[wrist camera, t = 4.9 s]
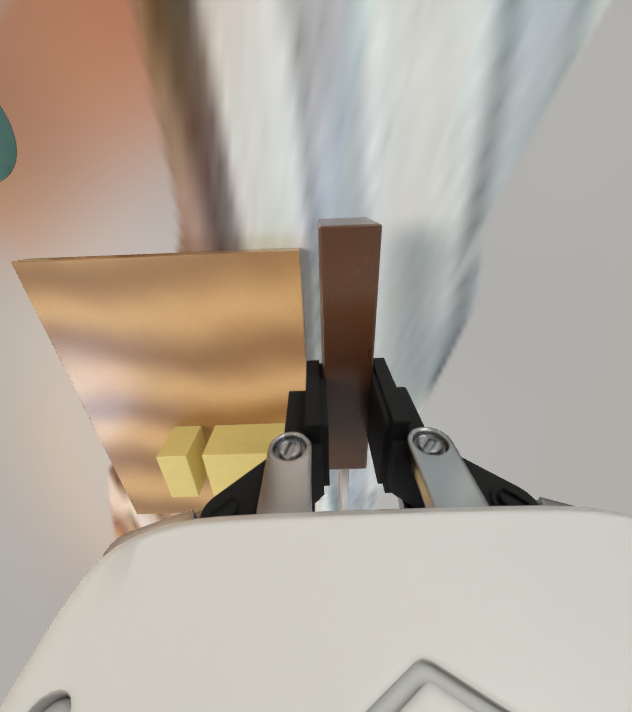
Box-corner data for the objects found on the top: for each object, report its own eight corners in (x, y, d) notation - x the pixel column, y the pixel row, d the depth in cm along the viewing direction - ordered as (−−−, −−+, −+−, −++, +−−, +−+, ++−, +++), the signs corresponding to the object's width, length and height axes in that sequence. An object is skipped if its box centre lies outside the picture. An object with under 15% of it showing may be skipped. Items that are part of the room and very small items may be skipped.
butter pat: (174, 426, 22) (155, 457, 19) (201, 425, 22) (185, 456, 19) (187, 464, 24) (171, 497, 21) (212, 463, 24) (199, 496, 21)
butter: (214, 424, 22) (201, 455, 19) (295, 422, 22) (293, 452, 19) (224, 463, 24) (213, 496, 21) (299, 461, 24) (297, 493, 21)
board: (26, 258, 17) (10, 261, 16) (299, 247, 17) (299, 250, 16) (142, 504, 27) (137, 514, 27) (314, 498, 27) (314, 508, 26)
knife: (317, 219, 11) (318, 226, 8) (367, 216, 11) (382, 223, 8) (327, 538, 20) (329, 582, 18) (354, 538, 20) (359, 581, 18)
